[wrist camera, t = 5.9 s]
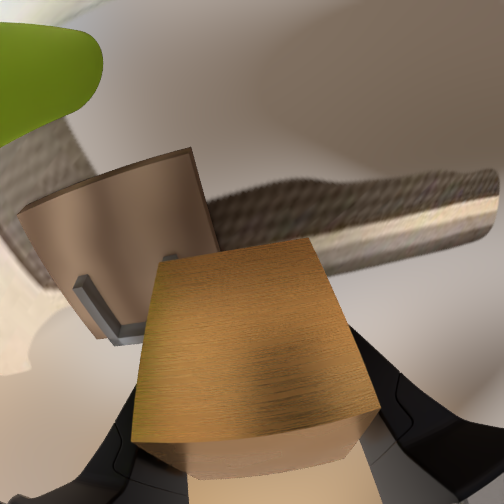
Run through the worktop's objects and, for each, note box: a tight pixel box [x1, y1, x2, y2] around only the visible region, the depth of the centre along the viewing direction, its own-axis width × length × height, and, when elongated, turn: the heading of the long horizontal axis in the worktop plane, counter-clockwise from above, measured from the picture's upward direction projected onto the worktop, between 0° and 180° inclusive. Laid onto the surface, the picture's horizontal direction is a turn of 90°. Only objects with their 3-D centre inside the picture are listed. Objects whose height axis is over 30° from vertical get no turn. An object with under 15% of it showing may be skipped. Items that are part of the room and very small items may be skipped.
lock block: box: [131, 238, 381, 480], centre depth 8 cm, size 5×5×6 cm
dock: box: [17, 147, 221, 346], centre depth 20 cm, size 14×14×3 cm
